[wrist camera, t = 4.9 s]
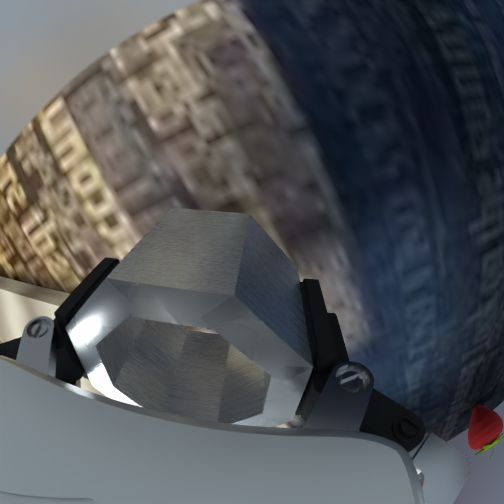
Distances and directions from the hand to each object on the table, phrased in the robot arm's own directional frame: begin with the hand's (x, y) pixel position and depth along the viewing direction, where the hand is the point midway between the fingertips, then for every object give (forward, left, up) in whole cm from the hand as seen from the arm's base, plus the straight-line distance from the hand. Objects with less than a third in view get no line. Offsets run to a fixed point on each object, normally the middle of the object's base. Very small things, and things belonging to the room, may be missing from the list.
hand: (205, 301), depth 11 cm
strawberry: (-37, +22, -4) cm, 43 cm away
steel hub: (0, 0, -1) cm, 1 cm away
